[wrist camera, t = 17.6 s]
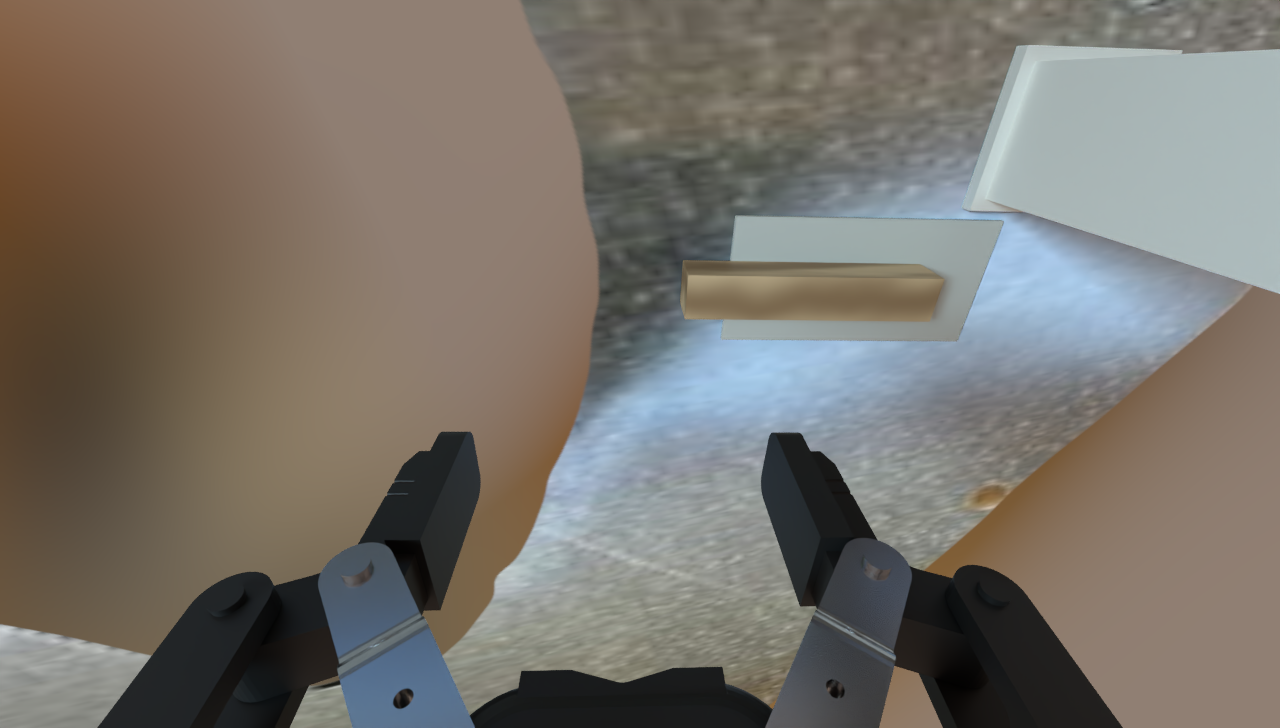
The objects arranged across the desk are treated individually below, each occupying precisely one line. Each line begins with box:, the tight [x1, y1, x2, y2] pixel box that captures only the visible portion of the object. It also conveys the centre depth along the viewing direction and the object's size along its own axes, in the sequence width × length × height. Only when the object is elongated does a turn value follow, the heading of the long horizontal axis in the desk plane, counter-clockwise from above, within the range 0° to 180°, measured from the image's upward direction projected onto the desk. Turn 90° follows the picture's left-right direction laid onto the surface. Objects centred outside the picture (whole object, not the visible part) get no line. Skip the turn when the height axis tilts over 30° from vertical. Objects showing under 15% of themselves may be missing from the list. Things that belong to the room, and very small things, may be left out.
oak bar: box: [680, 260, 945, 322], centre depth 44 cm, size 4×22×4 cm, turn 89°
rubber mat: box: [721, 215, 1004, 341], centre depth 46 cm, size 12×24×1 cm, turn 88°
